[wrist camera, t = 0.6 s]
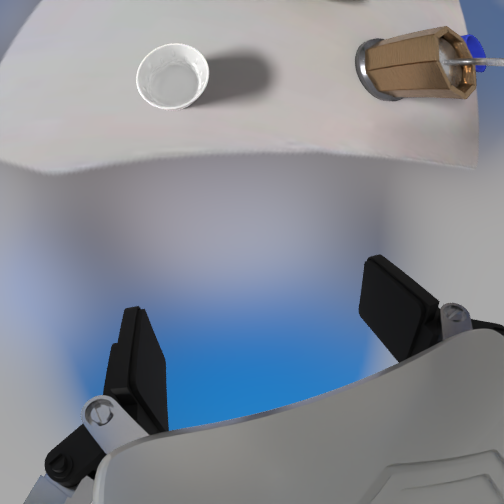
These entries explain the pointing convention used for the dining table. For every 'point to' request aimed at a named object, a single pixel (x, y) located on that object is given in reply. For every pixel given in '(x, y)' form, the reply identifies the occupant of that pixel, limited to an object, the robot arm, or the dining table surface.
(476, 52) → the mug
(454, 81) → the plunger
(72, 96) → the dining table surface
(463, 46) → the tan octagonal hollow container
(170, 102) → the white cup
